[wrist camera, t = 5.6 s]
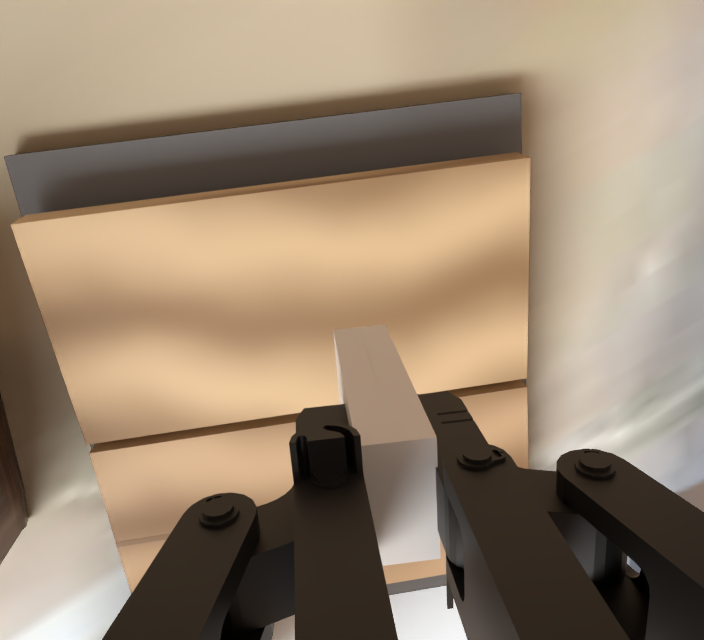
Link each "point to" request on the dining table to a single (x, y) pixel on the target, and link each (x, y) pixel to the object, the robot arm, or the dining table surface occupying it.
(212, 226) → the plank
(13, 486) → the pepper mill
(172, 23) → the dining table surface
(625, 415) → the dining table surface
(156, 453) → the plank
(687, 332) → the dining table surface
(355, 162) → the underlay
